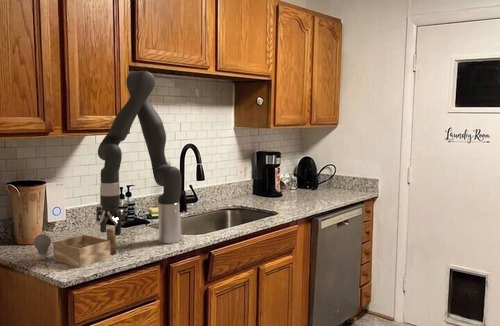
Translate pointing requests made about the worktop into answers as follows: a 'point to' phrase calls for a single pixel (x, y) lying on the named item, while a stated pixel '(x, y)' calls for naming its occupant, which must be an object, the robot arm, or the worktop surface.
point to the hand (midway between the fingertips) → (110, 233)
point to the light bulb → (42, 245)
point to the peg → (112, 240)
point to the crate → (81, 250)
